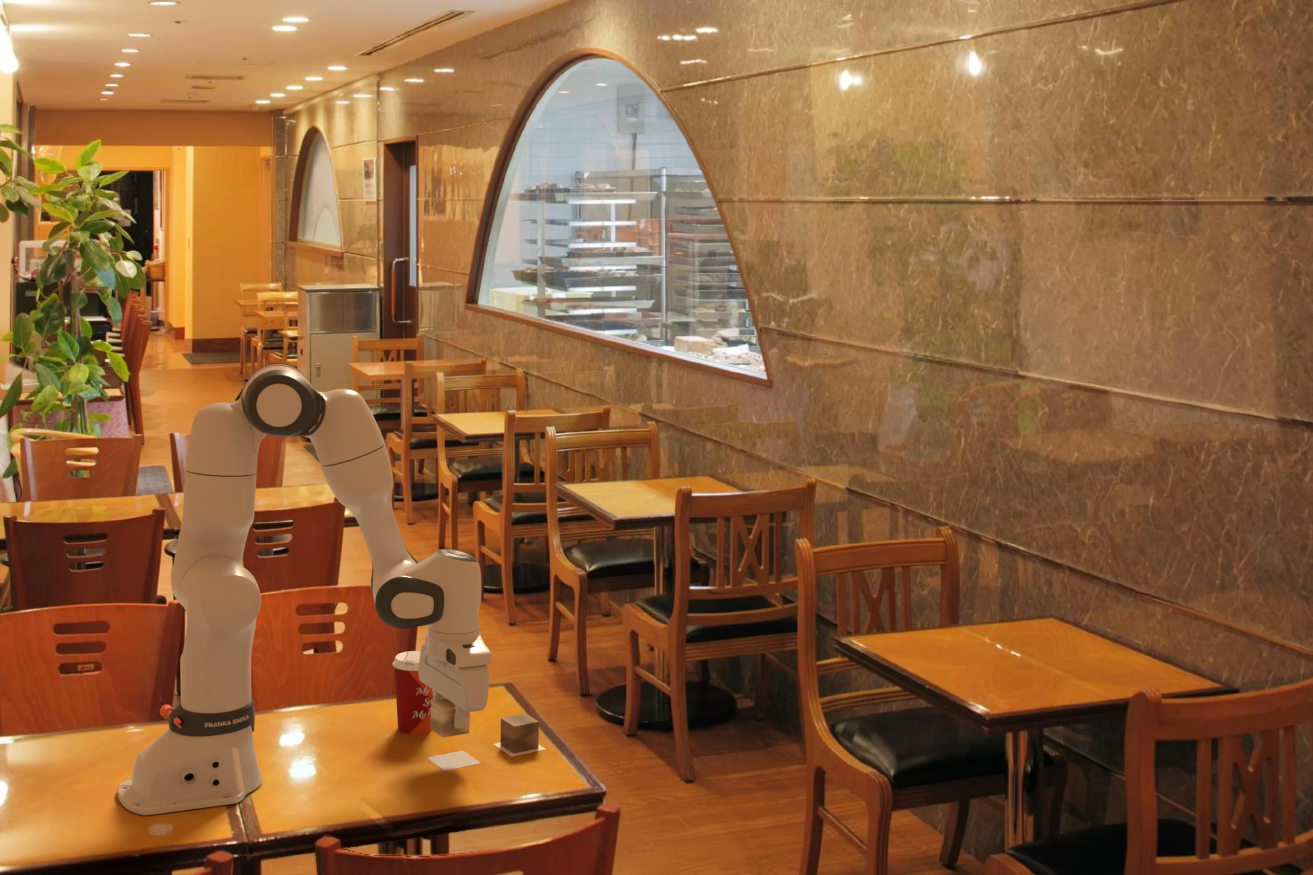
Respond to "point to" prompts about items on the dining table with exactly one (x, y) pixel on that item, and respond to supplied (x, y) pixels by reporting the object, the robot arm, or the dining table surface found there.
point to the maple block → (446, 719)
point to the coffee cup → (411, 695)
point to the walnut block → (519, 733)
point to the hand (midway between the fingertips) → (449, 721)
